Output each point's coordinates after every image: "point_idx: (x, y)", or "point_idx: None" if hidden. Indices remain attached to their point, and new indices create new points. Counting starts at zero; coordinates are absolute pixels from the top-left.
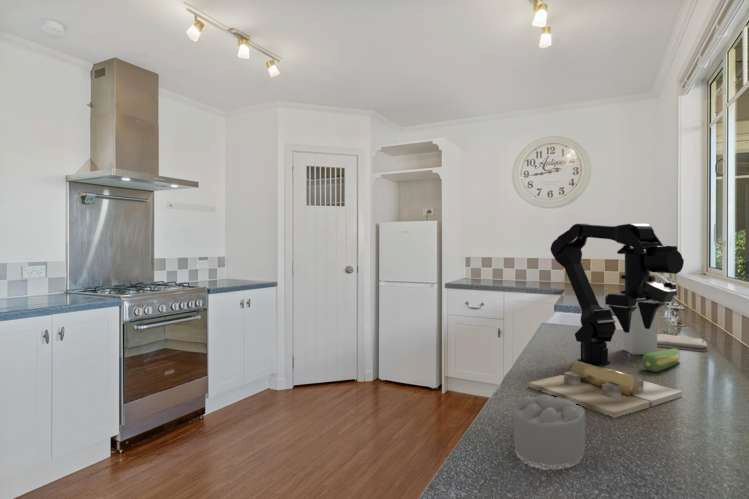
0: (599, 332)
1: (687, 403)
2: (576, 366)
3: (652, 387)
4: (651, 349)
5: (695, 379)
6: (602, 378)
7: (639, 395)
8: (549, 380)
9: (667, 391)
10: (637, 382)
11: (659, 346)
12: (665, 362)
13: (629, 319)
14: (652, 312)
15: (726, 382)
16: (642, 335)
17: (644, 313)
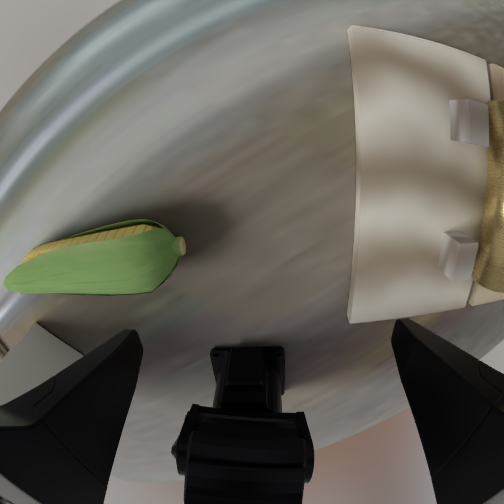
0: (295, 434)
1: (386, 6)
2: None
3: (401, 95)
4: (38, 338)
5: (116, 116)
6: None
7: (482, 93)
8: None
9: (395, 51)
10: (500, 101)
11: (2, 347)
12: (99, 233)
13: (479, 368)
14: (56, 413)
15: (72, 68)
16: (37, 377)
17: (99, 441)
